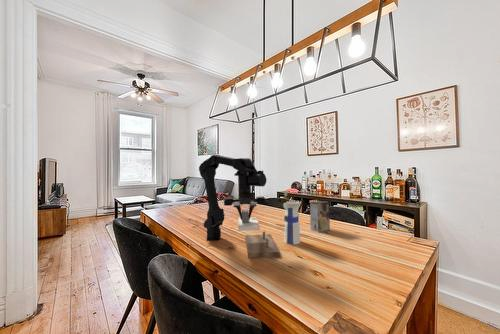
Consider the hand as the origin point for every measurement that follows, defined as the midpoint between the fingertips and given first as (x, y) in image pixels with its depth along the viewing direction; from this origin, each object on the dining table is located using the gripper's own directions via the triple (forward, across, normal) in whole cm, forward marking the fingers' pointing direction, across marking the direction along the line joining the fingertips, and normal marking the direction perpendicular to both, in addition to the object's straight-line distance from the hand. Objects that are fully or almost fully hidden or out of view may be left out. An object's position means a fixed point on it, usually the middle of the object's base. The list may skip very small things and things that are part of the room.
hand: (245, 219), depth 98 cm
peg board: (+13, +7, +1) cm, 15 cm away
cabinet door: (+2, +1, 0) cm, 3 cm away
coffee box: (+13, +43, +24) cm, 51 cm away
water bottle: (+13, +23, +6) cm, 27 cm away
